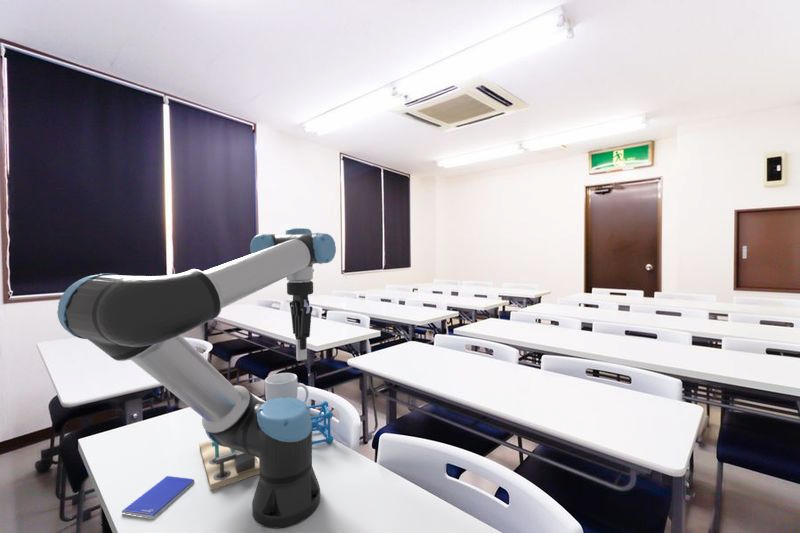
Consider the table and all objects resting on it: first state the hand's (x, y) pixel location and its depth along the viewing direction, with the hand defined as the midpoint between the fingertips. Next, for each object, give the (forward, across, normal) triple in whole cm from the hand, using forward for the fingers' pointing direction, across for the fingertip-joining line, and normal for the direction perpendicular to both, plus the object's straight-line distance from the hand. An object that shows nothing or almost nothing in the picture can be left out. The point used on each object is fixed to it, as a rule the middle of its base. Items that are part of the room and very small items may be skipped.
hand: (301, 359), depth 107 cm
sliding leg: (+25, +4, +20) cm, 32 cm away
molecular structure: (+27, +1, -4) cm, 27 cm away
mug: (+27, +24, -2) cm, 36 cm away
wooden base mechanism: (+26, +5, +20) cm, 34 cm away
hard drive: (+27, -2, +36) cm, 45 cm away
